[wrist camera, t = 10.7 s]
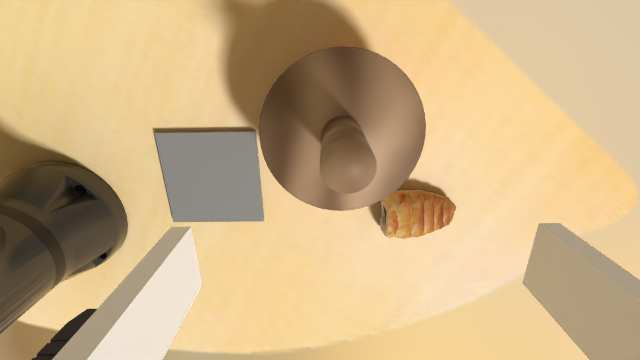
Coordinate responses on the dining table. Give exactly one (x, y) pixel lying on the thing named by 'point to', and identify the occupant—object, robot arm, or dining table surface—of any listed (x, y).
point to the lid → (342, 128)
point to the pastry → (414, 213)
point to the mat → (211, 175)
